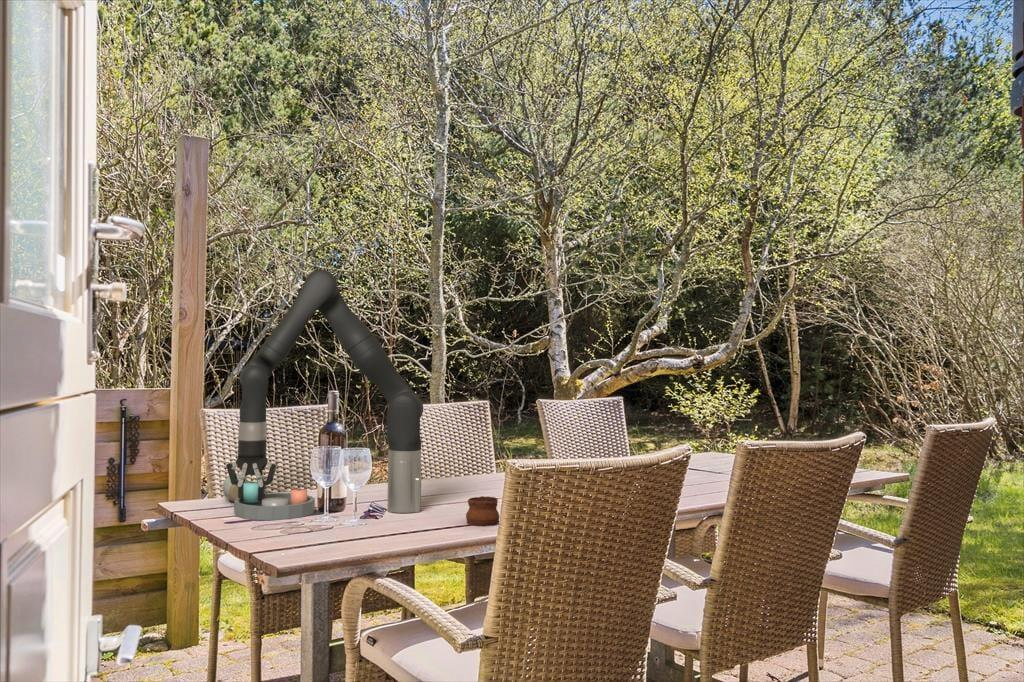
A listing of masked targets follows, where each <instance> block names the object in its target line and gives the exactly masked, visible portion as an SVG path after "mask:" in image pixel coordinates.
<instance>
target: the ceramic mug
mask: <svg viewBox="0 0 1024 682" xmlns="http://www.w3.org/2000/svg"><path fill="white" fill-rule="evenodd" d="M240 474H241V473H236V475H237V479H238V480H239V477H240ZM245 482H250V481H249V479H247V478H246V480H245ZM221 487H222V493H223V495H224V496H225V497H226V498H227V499H228V500H230V501H232V502H234V501H235V500H236V499H238V486H237V485H233V484H231V481H230V477H229V475H228V476H227V477H226V478H225V479H224V481H223V483H222V486H221Z"/></svg>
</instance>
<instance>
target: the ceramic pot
mask: <svg viewBox="0 0 1024 682" xmlns="http://www.w3.org/2000/svg"><path fill="white" fill-rule="evenodd" d="M498 500H499V499H498V497H494V496H484V495H483V496H475V497H471V498H470V497H469V498H468V499H467V504H468V510H467V512H466V514H465V518H466V524H467V525H469V526H473V527H492V526H496V525H498V523H499V520H500V514H499V511H498V509H497V507H498V502H499V501H498ZM481 531H485V529H482V530H481Z"/></svg>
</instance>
